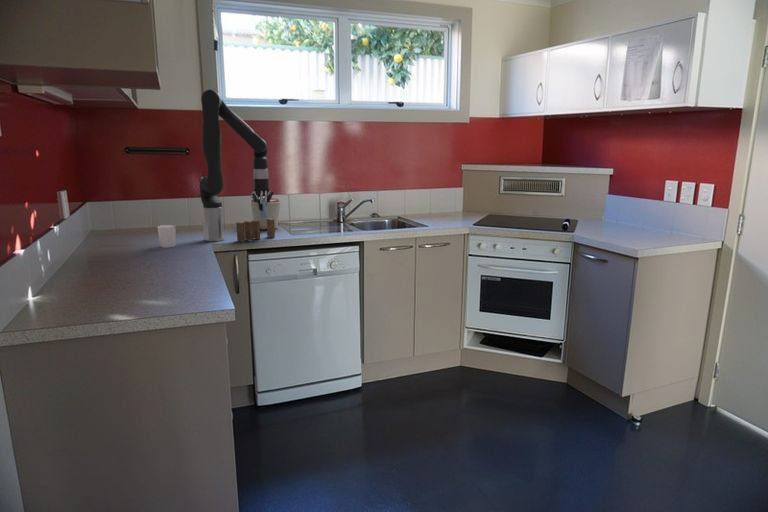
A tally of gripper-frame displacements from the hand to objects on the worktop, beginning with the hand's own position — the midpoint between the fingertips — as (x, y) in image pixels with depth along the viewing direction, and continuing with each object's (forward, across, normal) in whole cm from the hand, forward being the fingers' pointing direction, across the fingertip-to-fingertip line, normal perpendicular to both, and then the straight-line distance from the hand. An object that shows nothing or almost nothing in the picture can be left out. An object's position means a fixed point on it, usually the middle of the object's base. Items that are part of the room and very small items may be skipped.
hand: (262, 210), depth 272 cm
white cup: (+15, +47, -12) cm, 50 cm away
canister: (+15, -18, -27) cm, 36 cm away
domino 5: (+15, -4, 0) cm, 16 cm away
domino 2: (+15, +9, 0) cm, 17 cm away
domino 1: (+15, +14, 0) cm, 20 cm away
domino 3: (+15, +5, 0) cm, 16 cm away
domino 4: (+4, 0, +2) cm, 4 cm away
